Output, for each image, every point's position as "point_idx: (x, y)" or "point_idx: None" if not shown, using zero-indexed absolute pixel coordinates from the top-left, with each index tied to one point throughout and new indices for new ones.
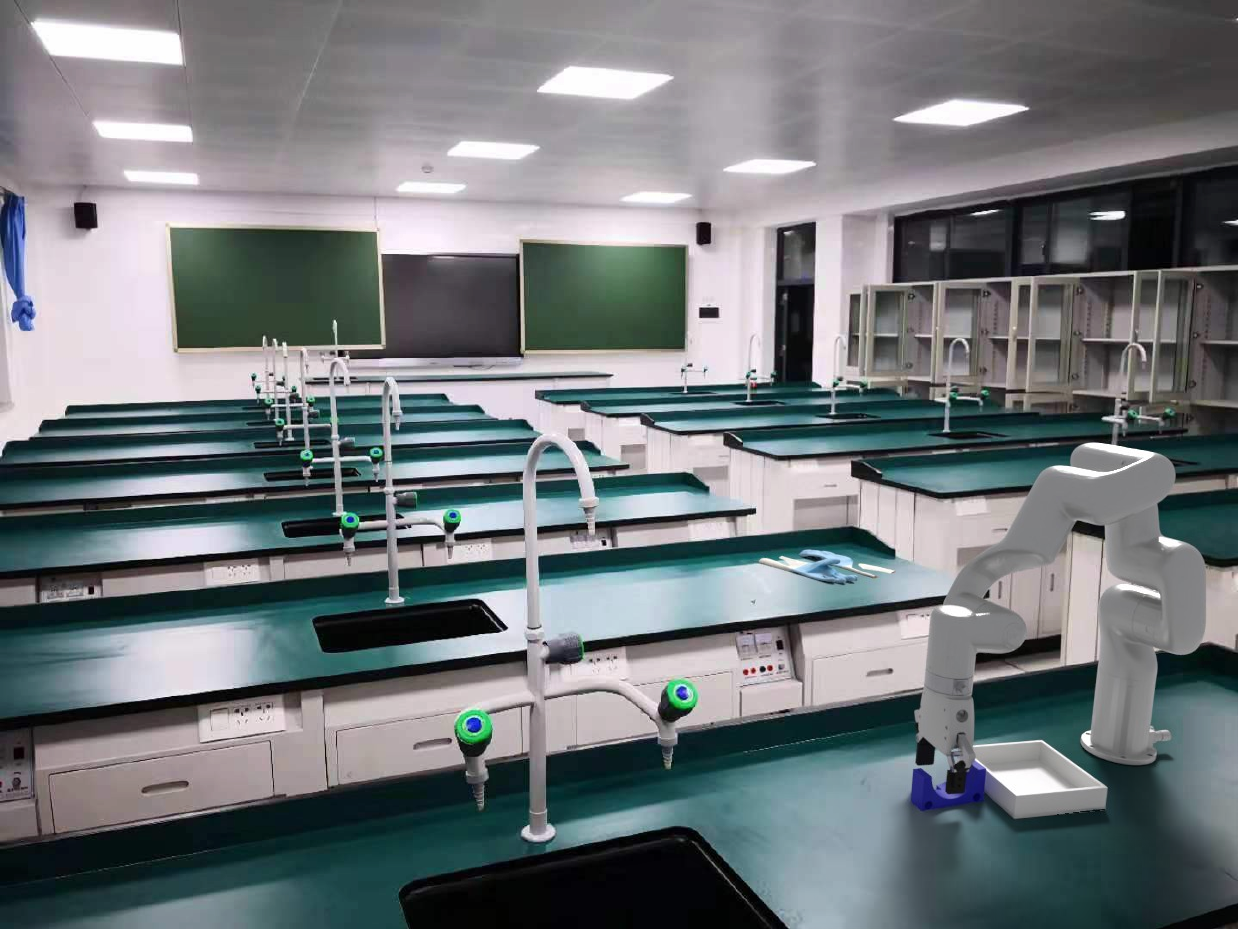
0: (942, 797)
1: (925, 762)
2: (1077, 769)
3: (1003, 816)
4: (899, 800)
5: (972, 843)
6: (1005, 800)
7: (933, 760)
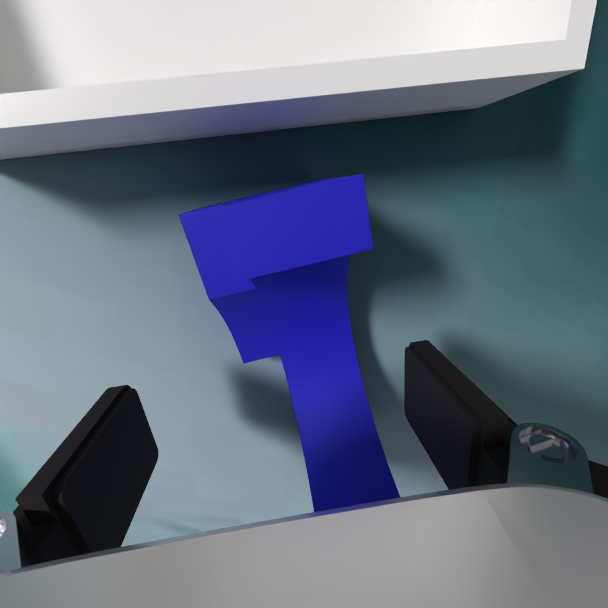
0: (362, 386)
1: (142, 435)
2: None
3: (447, 149)
4: (296, 465)
5: (557, 344)
6: (430, 103)
7: (125, 404)
